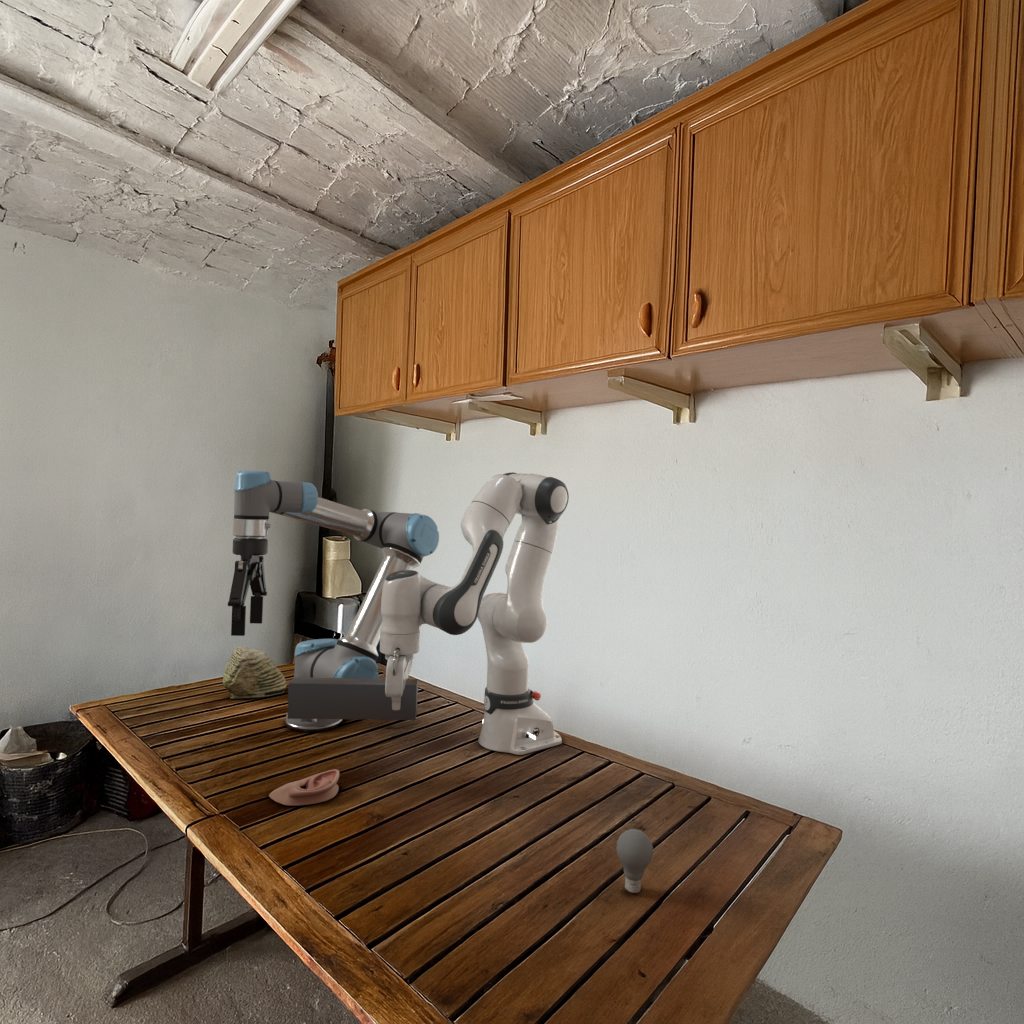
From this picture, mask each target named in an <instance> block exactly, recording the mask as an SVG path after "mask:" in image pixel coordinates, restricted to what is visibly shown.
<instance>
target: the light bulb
mask: <svg viewBox="0 0 1024 1024" xmlns="http://www.w3.org/2000/svg"><path fill="white" fill-rule="evenodd" d="M615 849H616V854H617V857H618V859H619V861H620V863H621V865H622V867H623V873H624V874H623V875H624V876H625V878H624V888H625V890H627V891H628V892H630V893H634V894H635V893H639V892H640V891H641V889H642V887H641V886H642V879H643V877H644V875H645V871H646V868H647V867H648V866H649V864H650V863H651V861H652V859H653V855H654V847H653V843H652V841H651V838H649V836H648V835H647V834H646V833H645V832H643V831H642V830H641V829H636V828H629V829H627V830H625V831H623V832H622V833H621V834H620V835H619V837H618V839H617V841H616V847H615Z"/></svg>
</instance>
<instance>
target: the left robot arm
mask: <svg viewBox="0 0 1024 1024" xmlns="http://www.w3.org/2000/svg"><path fill="white" fill-rule="evenodd" d="M233 491H234V496H233V497H234V498H233V499H234V504H233V522H232V523H233V524H232V536H234V538H233V539H232V551H231V552H232V554H233V555H235V556H240V560H235V561H234V571H233V577H232V582H231V588H230V592H229V598H228V601H227V607H231V626H230V627H231V629H230V636H231V637H245V635H246V618H247V617H246V615H247V606H246V605H245V602H246V600H247V596H248V593H249V592H248V591H249V589H250V590H251V596H250V606H249V609H250V610H249V624H258V625H259V624H263V614H264V613H263V612H264V597H266V596H268V591H267V585H266V576H265V566H264V558H265V557H264V556H265V555H267V554H268V553H269V552H268V551H269V540H268V538H266V537H268V536H269V529H270V528H271V527H272V525H271V523H269V519H270V513H271V514H275V515H279V516H283V517H287V518H290V519H293V520H297V521H301V522H304V523H308V524H312V525H315V526H319V527H322V528H326V529H330V530H333V531H336V532H340V533H344V534H347V535H351V536H353V538H354V539H355V540H356V541H359V542H363V543H365V544H368V545H371V546H374V547H376V548H379V549H381V551H382V554H383V558H382V560H381V563H380V565H379V567H378V569H377V571H376V573H375V575H374V577H373V579H372V582H371V584H370V586H369V588H368V590H367V592H366V594H365V596H364V598H363V600H362V602H361V605H360V606H359V608H358V610H357V613H356V615H355V617H354V619H353V621H352V623H351V625H350V627H349V629H348V632H347V634H346V635H344V636H341V637H340V638H338V639H337V638H318V639H308V640H304V641H300V642H299V643H297V644H296V646H295V650H294V655H293V657H294V672H293V673H294V674H293V678H294V677H309V678H368V679H379V672H378V670H379V666H378V664H377V660H378V659H379V652H378V650H377V647H378V644H380V628H381V625H382V614H381V598H382V589H383V584H384V581H385V579H386V577H387V576H388V575H390V574H391V573H394V572H397V571H402V570H403V571H404V570H413V569H416V568H418V567H420V566H421V564H422V561H423V559H424V557H428V556H430V555H432V554H434V553H435V552H436V549H437V548H438V546H439V542H440V532H439V530H438V526H437V523H436V521H435V520H434V519H433V518H432V517H430V516H429V515H426V514H421V513H418V512H414V513H407V512H396V511H379V510H373V509H369V508H363V509H358V508H355V507H352V506H349V505H345V504H342V503H339V502H336V501H334V500H333V501H332V500H329V499H326V498H324V497H321V496H319V493H318V489H317V487H316V486H315V485H314V484H313V483H312V482H306V481H292V480H291V481H289V480H273V479H272V477H271V474H270V472H269V471H265V470H264V471H263V470H249V469H248V470H246V469H242V470H239V471H237V472H236V474H235V479H234V488H233ZM343 722H344V719H288V712H287V713H286V715H285V726H286V728H287V729H289V730H291V731H294V732H295V731H296V732H301V733H316V732H325V731H329V730H332V729H335V728H337V727H339V726H340V725H342V723H343Z"/></svg>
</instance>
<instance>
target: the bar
mask: <svg viewBox="0 0 1024 1024" xmlns="http://www.w3.org/2000/svg"><path fill="white" fill-rule="evenodd" d="M385 682H386V678H378V679H368V678H309V677H294V676H293V678H292V679H291V680H290V681H289V682H288V686H287V687H288V688H287V689H288V692H287V713H288V719H343V720H363V721H364V720H367V721H371V720H374V721H378V720H379V721H416V719H417V716H418V702H419V701H418V698H419V696H418V695H419V679H418V678H408V679H407V682H406V686H405V689H404V692H403V695H402V696H401V708H400V710H393V709H392V698H391V697H386V695H385Z"/></svg>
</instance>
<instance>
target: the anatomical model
mask: <svg viewBox="0 0 1024 1024" xmlns="http://www.w3.org/2000/svg"><path fill="white" fill-rule="evenodd" d="M339 780H340V770H339V769H336V768H335V769H334V768H333V769H330V770H325V771H321V772H319V773H316V774H313V775H310V776H307V777H305V778H302V779H299V780H295V781H292V782H288V783H286V784H283V785H281V786H279V787H277V788H275V789H273V791H270V793H269V794H268V797H269V798H270V799H271V800H273V802H275V803H278V804H280V805H283V806H288V807H289V806H290V807H291V806H293V807H295V806H296V807H297V806H306V805H314V804H318V803H322V802H326V801H329V800H331V799H333V798H334V797H335V796H336V795H337V794H338V793H339V789H340V787H339V784H337V783H338V782H339Z"/></svg>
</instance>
